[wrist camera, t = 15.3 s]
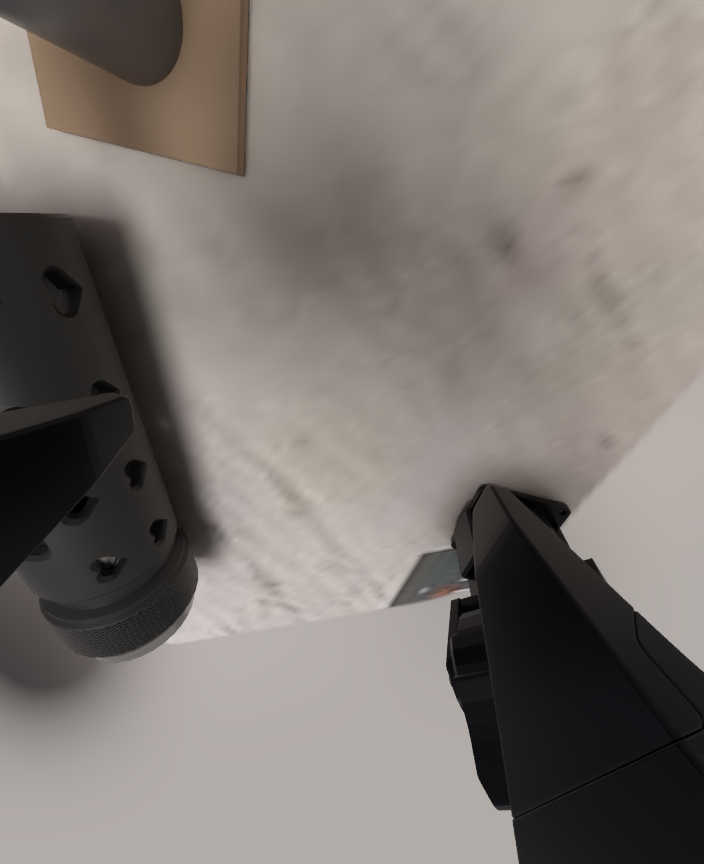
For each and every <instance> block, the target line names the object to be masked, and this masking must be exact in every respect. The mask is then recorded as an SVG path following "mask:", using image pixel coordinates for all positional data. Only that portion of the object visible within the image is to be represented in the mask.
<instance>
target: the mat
mask: <svg viewBox="0 0 704 864" xmlns="http://www.w3.org/2000/svg"><path fill="white" fill-rule="evenodd" d="M180 2H181V8H182V16H183V38H182V45H181V50H180V54H179V57H178V60H177V62H176V64H175V66H174V68H173V70H172V71H171V73H170V74H169V75H168V76H167V77H166V78H165V79H164V80H162V81H161V82H159V83H157V84H155V85H150V86H139V85H134V84H131V83H129V82H127V81H125V80H123V79H121V78H119V77H117V76H115V75H113V74H111V73H109V72H107V71H105V70H103V69H101V68H99V67H97V66H95V65H93V64H91V63H89V62H87V61H86V60H84V59H82V58H80V57H78V56H76V55H74V54H72V53H70V52H68V51H66V50H64V49H62V48H60V47H58V46H56V45H54V44H52V43H50V42H48V41H46V40H44V39H42V38H40V37H39V36H37V35H35V34H33V33H31V32H29V31H27V34H28V39H29V44H30V48H31V53H32V58H33V63H34V67H35V72H36V77H37V82H38V86H39V91H40V96H41V101H42V105H43V110H44V115H45V120H46V125H47V128H51V129H55V130H59V131H62V132H66V133H71V134H75V135H79V136H83V137H87V138H91V139H95V140H99V141H103V142H107V143H111V144H115V145H119V146H123V147H127V148H131V149H135V150H139V151H143V152H147V153H151V154H156V155H160V156H164V157H168V158H172V159H176V160H180V161H184V162H188V163H192V164H196V165H200V166H204V167H208V168H212V169H216V170H220V171H224V172H228V173H232V174H236V175H241V176H244V153H245V117H246V82H247V46H248V10H249V0H180Z"/></svg>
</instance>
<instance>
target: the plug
mask: <svg viewBox="0 0 704 864" xmlns="http://www.w3.org/2000/svg"><path fill="white" fill-rule="evenodd" d="M0 17H1V18H3V19H5V20H7V21H9V22H11V23H13V24H15V25H17V26H19V27H21V28H23V29H25V30H27V31H29V32H31V33H33V34H35V35H37V36H39V37H40V38H42V39H44V40H46V41H48V42H50V43H52V44H54V45H56V46H58V47H60V48H62V49H64V50H66V51H68V52H70V53H72V54H74V55H76V56H78V57H80V58H82V59H84V60H86V61H87V62H89V63H91V64H93V65H95V66H97V67H99V68H101V69H103V70H105V71H107V72H109V73H111V74H113V75H115V76H117V77H119V78H121V79H123V80H125V81H127V82H129V83H131V84H134V85H139V86H150V85H155V84H157V83H159V82H161V81H162V80H164V79H165V78H166V77H167V76H168V75H169V74H170V73H171V71H172V70H173V68H174V66H175V64H176V62H177V60H178V57H179V54H180V50H181V45H182V38H183V16H182V8H181V2H180V0H0Z"/></svg>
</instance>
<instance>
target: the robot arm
mask: <svg viewBox="0 0 704 864" xmlns="http://www.w3.org/2000/svg"><path fill="white" fill-rule="evenodd" d="M134 429H135V422H134V416H133V410H132V404H131V401H130V399H129V398H128V397H127V396H124V395H119V394H115V393H104V394H99V395H93V396H88V397H82V398H77V399H71V400H66V401H60V402H55V403H49V404H44V405H38V406H33V407H27V408H22V409H17V410H11V411H6V412H0V587H1V586H2V585H3V584H4V583H5V581H6V580H7V579H8V578H9V577H10V576H11V575H12V574H13V573H14V572H15V571H16V570H17V568H18V567H19V566H20V565H21V564H22V563H23V562H24V561H25V560H26V559H27V558H28V557H29V555H30V554H31V553H32V552H33V551H34V550H35V549H36V548H37V547H38V546H39V545H40V544H41V542H42V541H43V540H44V539H45V538H46V537H47V536H48V535H49V534H50V533H51V532H52V530H53V529H54V528H55V527H56V526H57V525H58V524H59V523H60V522H61V521H62V520H63V519H64V517H65V516H66V515H67V514H68V513H69V512H70V511H71V510H72V509H73V508H74V507H75V506H76V504H77V503H78V502H79V501H80V500H81V499H82V498H83V497H84V496H85V495H86V494H87V492H88V491H89V490H90V489H91V488H92V487H93V486H94V485H95V483H96V482H97V481H98V480H99V479H100V477H101V476H102V475H103V473H104V472H105V471H106V469H107V468H108V467H109V465H110V464H111V463H112V461H113V460H114V459H115V457H116V456H117V455H118V453H119V452H120V451H121V449H122V448H123V447H124V445H125V444H126V442H127V441H128V440H129V438H130V437H131V436H132V434H133V432H134ZM562 510H563V511H562ZM560 511H561V512H560ZM570 513H571V511H570V509H569V507H568V506H567V505H565V504H562V503H558V502H554V501H550V500H546V499H542V498H537V497H533V496H529V495H525V494H521V493H517V492H513V491H509V490H508V489H506V488H504V487H500V486H496V485H492V484H490V485H488V486H487V485H485V486H482V487H480V488H479V490H478V492H477V493H476V495H475V497H474V499H473V501H472V503H471V504H470V506H469V508H467V509H465V511H464V513H463V514H462V516H461V518H460V520H459V522H458V524H457V526H456V527H455V529H454V536H453V537H452V539H451V546H452V548H454V549H457V555H458V561H459V567H460V573H461V575H462V577H463V578H464V579H468V582H469V587H470V593H471V596H470V597H467V598H464V599H460V598H458V599H455V600H452V601H451V610H450V621H449V633H448V645H447V661H446V667H447V671H448V673H449V679H450V683H451V686H452V687H453V690H454V693H455V695H456V698H457V700H458V702H459V704H460V706H461V708H462V710H463V712H464V714H465V717H466V721H467V725H468V729H469V733H470V738H471V743H472V749H473V754H474V759H475V765H476V770H477V775H478V778H479V780H480V782H481V784H482V786H483V788H484V789H485V791H486V793H487V795H488V797H489V798H490V800H491V802H492V804H493V805H494V807H495V808H496V809H497V810H511V812H512V817H513V818H514V819H513V827H514V834H515V840H516V847H517V853H518V859H519V864H704V672H703V671H702V670H700V669H699V668H698V667H697V666H696V665H695V664H694V663H693V662H691V661H690V660H689V659H688V658H687V657H686V656H685V655H684V654H682V653H681V652H680V651H679V650H678V649H677V648H676V647H675V646H674V645H673V644H672V643H670V642H669V641H668V640H667V639H666V638H665V637H664V636H663V635H662V634H661V633H660V632H659V631H657V630H656V629H655V628H654V627H653V626H652V625H651V624H650V623H649V622H648V621H647V620H646V619H645V618H643V616H641V615H640V614H639V613H638V612H636V611H634V609H633V607H632V606H631V605H630V604H628V602H627V601H625V600H624V599H623V598H622V597H621V596H620V595H619V594H618V593H617V592H616V591H615V590H614V589H613V588H612V587H611V586H610V585H609V584H608V583H607V582H606V580H605V579H604V577H603V575H602V574H601V572H600V570H599V569H598V567H597V566H596V564H595V562H594V561H593V559H592V558H591V559H587V560H584V561H583V560H582V559H581V558H580V557H579V556H578V555H577V554H576V553H575V552H573V551H572V550H571V549H570V547H569V545H568V543H567V541H566V539H565V537H564V535H563V534H562V532H561V530H560V527H561V525H562V524H563V523H564V521H565V520H566V519H567V518H568V516H569V515H570Z"/></svg>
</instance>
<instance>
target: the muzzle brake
mask: <svg viewBox="0 0 704 864" xmlns="http://www.w3.org/2000/svg"><path fill="white" fill-rule="evenodd" d="M104 393H115V394H119V395H124V396H127V397H128V398H129V399H130V401H131V404H132V410H133V416H134V422H135V429H134V432H133V434H132V436H131V437H130V438H129V440H128V441H127V442H126V444H125V445H124V447H123V448H122V449H121V451H120V452H119V453H118V455H117V456H116V457H115V459H114V460H113V461H112V463H111V464H110V465H109V467H108V468H107V469H106V471H105V472H104V473H103V475H102V476H101V477H100V479H99V480H98V481H97V482H96V483H95V485H94V486H93V487H92V488H91V489H90V490H89V491H88V492H87V494H86V495H85V496H84V497H83V498H82V499H81V500H80V501H79V502H78V503H77V504H76V506H75V507H74V508H73V509H72V510H71V511H70V512H69V513H68V514H67V515H66V516H65V517H64V519H63V520H62V521H61V522H60V523H59V524H58V525H57V526H56V527H55V528H54V529H53V530H52V532H51V533H50V534H49V535H48V536H47V537H46V538H45V539H44V540H43V541H42V542H41V544H40V545H39V546H38V547H37V548H36V549H35V550H34V551H33V552H32V553H31V554H30V555H29V557H28V558H27V559H26V560H25V561H24V562H23V563H22V564H21V565H20V566H19V567H18V568H17V570H16V572H17V573H18V574H19V576H21V578H22V579H23V581H24V582H25V583H26V585H27V586H28V587H29V588H30V590H31V591H32V592H33V593H34V594H36V595H37V596H39V597H40V599H39V604H40V609H41V613H42V615H43V616H44V618H45V619H46V620H47V622H48V623H49V624H50V625H51V627H52V628H53V629H54V630H55V632H56V633H57V634H58V636H59V637H60V638H61V639H62V640H63V642H64V643H65V644H66V646H68V648H70V649H71V650H73V651H74V652H75V653H77V654H80V655H84V656H88V657H95V658H96V659H97V660H100V661H104V662H111V663H112V662H113V663H114V662H115V663H119V662H124V661H130V660H132V659H135V658H138V657H141V656H143V655H145V654H147V653H149V652H151V651H153V650H154V649H156V648H157V647H159V646H160V645H162V644H163V643H164V642H166V641H167V640H168V639H169V638H170V637H171V636H172V635H173V634H174V633H175V632H176V631H177V630H178V629H179V627H180V626H181V625H182V624H183V622H184V621H185V619H186V617H187V616H188V614H189V612H190V609H191V607H192V604H193V599H194V593H195V591H196V586H197V582H198V569H197V565H196V562H195V559H194V556H193V553H192V550H191V547H190V544H189V541H188V538H187V536H186V535H185V533H184V532H183V530H182V529H181V528H180V527H178V526H177V520H176V516H175V513H174V510H173V507H172V505H171V502H170V499H169V497H168V494H167V491H166V487H165V484H164V481H163V479H162V476H161V473H160V470H159V467H158V464H157V461H156V459H155V456H154V454H153V451H152V448H151V445H150V443H149V440H148V437H147V434H146V430H145V427H144V424H143V421H142V418H141V416H140V413H139V410H138V407H137V404H136V401H135V398H134V396H133V393H132V390H131V388H130V386H129V383H128V380H127V376H126V374H125V371H124V368H123V366H122V362H121V359H120V356H119V353H118V350H117V347H116V344H115V341H114V338H113V335H112V333H111V330H110V327H109V324H108V321H107V318H106V315H105V313H104V310H103V307H102V304H101V302H100V300H99V297H98V294H97V291H96V288H95V285H94V282H93V279H92V277H91V274H90V271H89V269H88V266H87V262H86V259H85V255H84V252H83V250H82V247H81V244H80V241H79V238H78V235H77V232H76V230H75V227H74V224H73V221H72V218H71V217H70V216H68V215H67V214H40V213H0V412H6V411H11V410H17V409H22V408H27V407H33V406H38V405H44V404H49V403H55V402H60V401H66V400H71V399H77V398H82V397H88V396H93V395H99V394H104Z"/></svg>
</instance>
